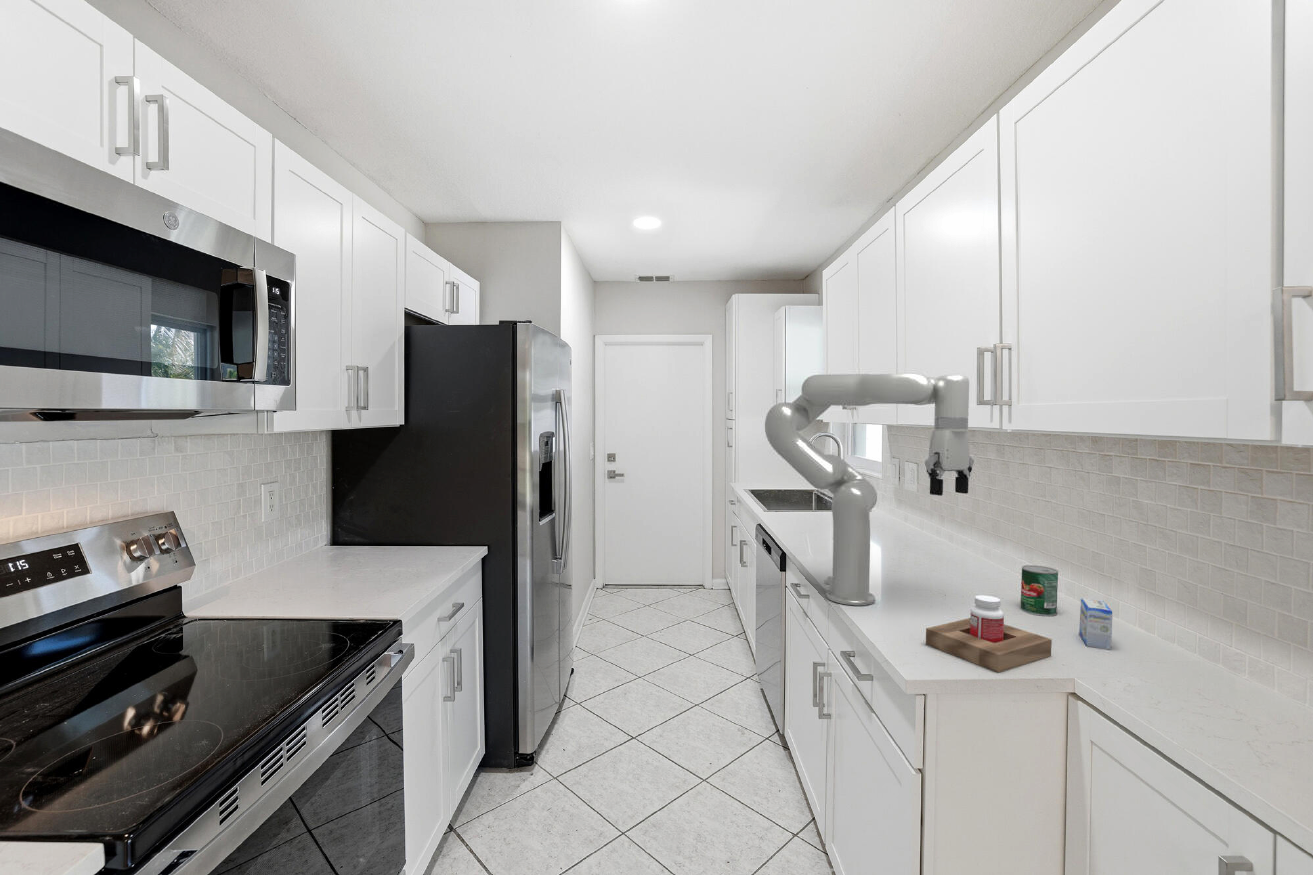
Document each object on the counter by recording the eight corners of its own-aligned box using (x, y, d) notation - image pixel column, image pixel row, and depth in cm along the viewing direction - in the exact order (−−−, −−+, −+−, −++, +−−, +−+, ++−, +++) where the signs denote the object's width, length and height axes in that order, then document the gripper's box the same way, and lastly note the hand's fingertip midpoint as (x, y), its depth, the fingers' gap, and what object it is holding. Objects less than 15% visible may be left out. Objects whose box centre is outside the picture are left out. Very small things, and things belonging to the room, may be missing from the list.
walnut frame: (925, 644, 128) (926, 628, 128) (977, 631, 136) (978, 616, 136) (998, 672, 114) (998, 654, 114) (1051, 655, 122) (1051, 639, 122)
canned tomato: (1015, 610, 152) (1016, 567, 152) (1027, 604, 157) (1028, 563, 156) (1050, 618, 146) (1051, 574, 145) (1061, 612, 151) (1063, 569, 150)
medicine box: (1078, 634, 135) (1080, 597, 134) (1102, 638, 133) (1104, 600, 132) (1086, 646, 128) (1087, 607, 127) (1111, 650, 126) (1113, 610, 125)
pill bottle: (1008, 651, 124) (1010, 599, 124) (993, 657, 121) (995, 604, 120) (978, 642, 129) (980, 592, 129) (963, 647, 126) (965, 596, 126)
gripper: (959, 425, 154) (957, 490, 154) (914, 424, 146) (912, 493, 146) (987, 425, 147) (985, 494, 148) (941, 425, 139) (939, 497, 139)
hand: (949, 493), depth 147 cm, fingers open, 9 cm apart
